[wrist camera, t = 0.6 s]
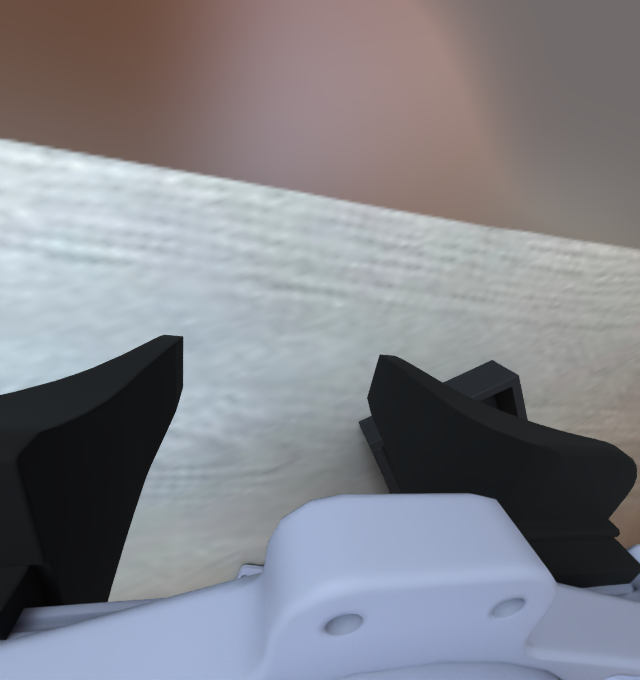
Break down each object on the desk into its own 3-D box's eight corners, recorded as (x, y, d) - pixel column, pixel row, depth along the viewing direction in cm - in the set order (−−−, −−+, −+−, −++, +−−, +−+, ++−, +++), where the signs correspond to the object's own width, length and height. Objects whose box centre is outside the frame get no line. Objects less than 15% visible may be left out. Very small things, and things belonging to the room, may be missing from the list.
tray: (521, 489, 31) (546, 513, 29) (412, 540, 31) (426, 570, 28) (492, 359, 26) (519, 375, 23) (358, 421, 26) (369, 444, 23)
